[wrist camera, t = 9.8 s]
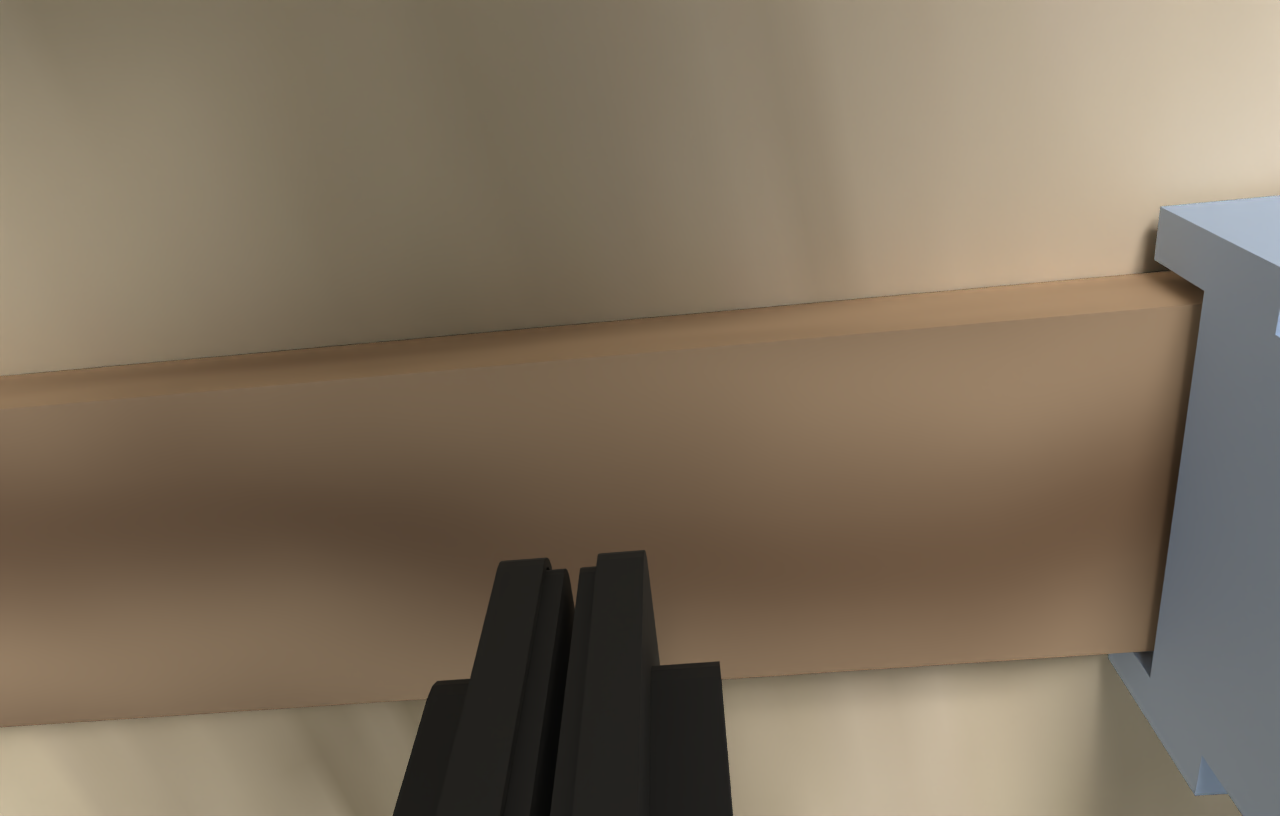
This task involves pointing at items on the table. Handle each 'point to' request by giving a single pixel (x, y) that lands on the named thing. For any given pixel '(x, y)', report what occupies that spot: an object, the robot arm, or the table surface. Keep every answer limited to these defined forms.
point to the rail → (599, 496)
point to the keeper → (1223, 517)
